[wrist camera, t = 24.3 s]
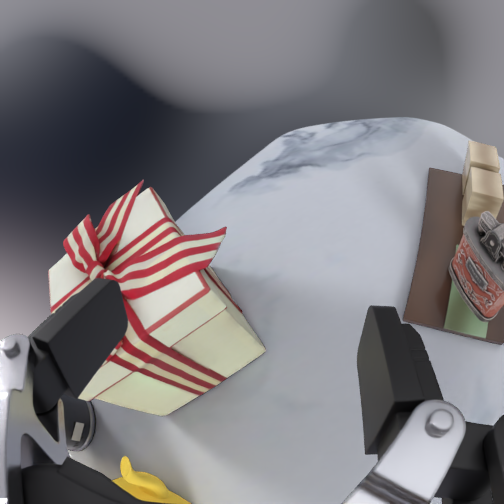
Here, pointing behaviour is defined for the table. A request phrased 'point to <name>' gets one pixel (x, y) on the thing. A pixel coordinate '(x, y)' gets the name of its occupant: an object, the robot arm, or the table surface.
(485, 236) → the lighter
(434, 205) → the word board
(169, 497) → the teapot
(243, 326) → the gift box
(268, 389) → the table surface
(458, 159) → the table surface
